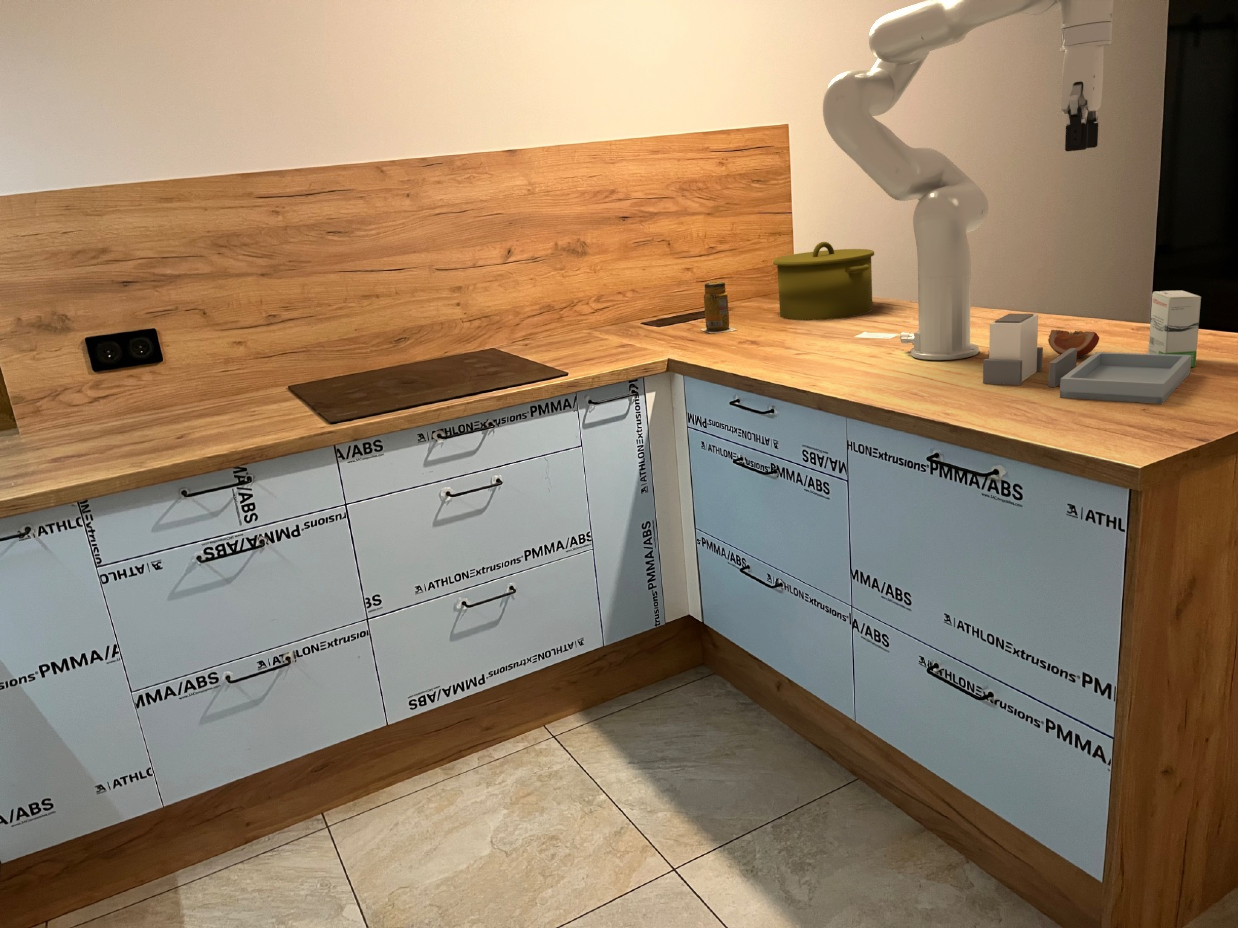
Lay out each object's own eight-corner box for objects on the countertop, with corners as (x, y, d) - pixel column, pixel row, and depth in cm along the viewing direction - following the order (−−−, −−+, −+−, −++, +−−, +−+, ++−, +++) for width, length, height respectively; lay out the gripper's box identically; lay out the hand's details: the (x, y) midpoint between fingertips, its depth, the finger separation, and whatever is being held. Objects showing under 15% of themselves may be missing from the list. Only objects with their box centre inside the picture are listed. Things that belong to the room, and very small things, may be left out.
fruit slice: (1040, 358, 169) (1041, 331, 168) (1062, 351, 173) (1063, 325, 171) (1084, 363, 162) (1085, 335, 161) (1105, 356, 166) (1107, 328, 164)
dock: (983, 383, 156) (983, 360, 155) (1006, 368, 165) (1007, 346, 164) (1054, 387, 149) (1055, 363, 148) (1075, 371, 157) (1076, 348, 156)
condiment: (726, 326, 241) (723, 280, 237) (737, 330, 233) (734, 282, 229) (699, 330, 239) (696, 283, 236) (710, 334, 231) (706, 286, 228)
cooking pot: (752, 316, 252) (747, 248, 246) (824, 301, 263) (821, 235, 258) (826, 325, 226) (823, 249, 221) (903, 308, 238) (902, 235, 232)
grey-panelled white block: (988, 381, 157) (989, 322, 154) (1007, 370, 164) (1008, 312, 160) (1019, 383, 154) (1020, 322, 151) (1036, 371, 160) (1038, 312, 157)
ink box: (1197, 367, 151) (1203, 295, 148) (1164, 369, 152) (1169, 298, 149) (1177, 357, 159) (1182, 288, 156) (1146, 359, 160) (1150, 290, 157)
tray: (1059, 397, 143) (1060, 378, 142) (1095, 369, 157) (1096, 352, 156) (1162, 404, 134) (1163, 384, 133) (1189, 373, 148) (1191, 355, 147)
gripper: (1070, 45, 158) (1067, 150, 163) (1049, 40, 145) (1046, 154, 150) (1119, 37, 154) (1114, 145, 159) (1102, 31, 141) (1097, 149, 146)
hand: (1081, 149), depth 155 cm, fingers open, 9 cm apart
